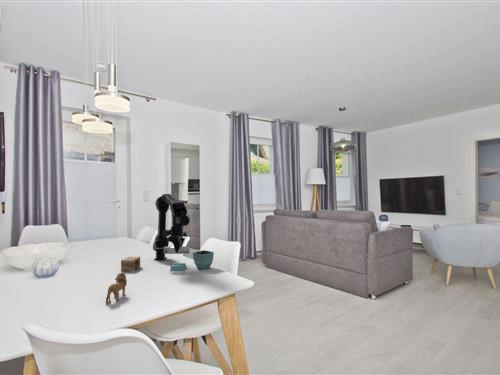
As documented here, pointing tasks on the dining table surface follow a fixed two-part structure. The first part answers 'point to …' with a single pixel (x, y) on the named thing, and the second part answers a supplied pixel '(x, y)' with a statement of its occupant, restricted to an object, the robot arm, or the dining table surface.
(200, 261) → the flower pot
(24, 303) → the dining table surface
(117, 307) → the dining table surface
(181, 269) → the cradle
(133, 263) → the brown block
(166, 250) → the axle
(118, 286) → the lion figurine
